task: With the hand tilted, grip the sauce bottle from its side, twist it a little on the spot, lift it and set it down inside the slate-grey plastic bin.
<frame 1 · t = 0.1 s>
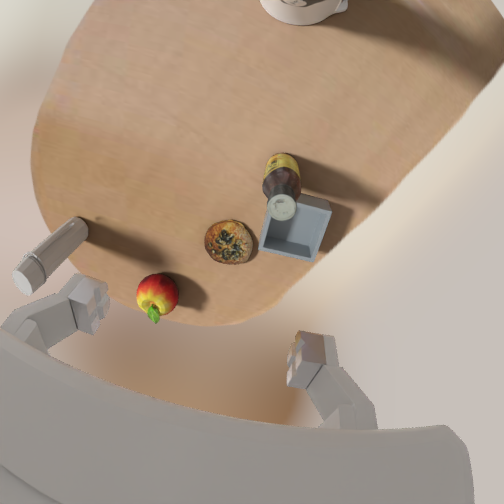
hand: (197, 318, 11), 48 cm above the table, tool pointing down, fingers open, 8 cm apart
fruit: (163, 284, 73), on the table
sauce bottle: (281, 167, 55), on the table
bin: (293, 218, 60), on the table
bread roll: (230, 240, 65), on the table
water bottle: (80, 224, 66), on the table
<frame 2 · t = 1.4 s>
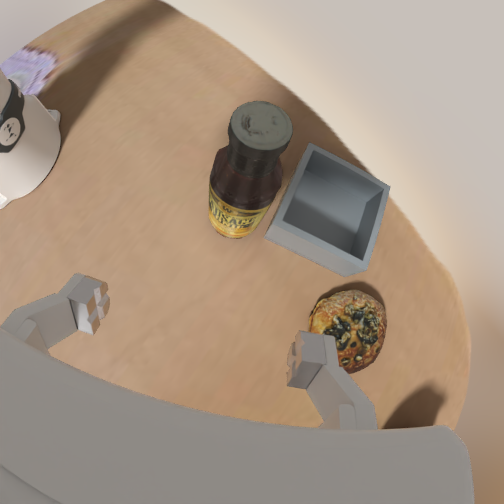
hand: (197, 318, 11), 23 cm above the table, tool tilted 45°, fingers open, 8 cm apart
sauce bottle: (235, 218, 36), on the table
bin: (321, 218, 37), on the table
bread roll: (345, 330, 35), on the table
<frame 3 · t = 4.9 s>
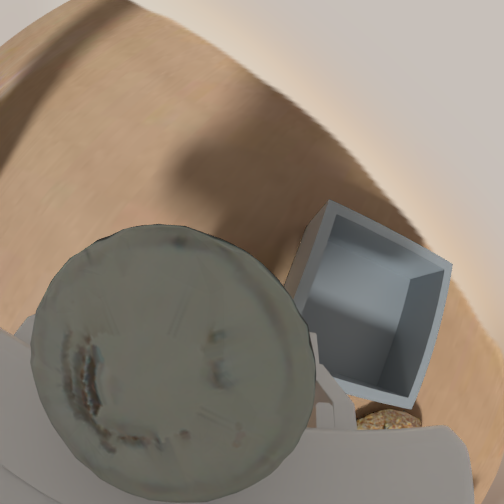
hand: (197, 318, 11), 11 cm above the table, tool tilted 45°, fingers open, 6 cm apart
sauce bottle: (210, 325, 22), on the table, touching gripper
bin: (344, 313, 23), on the table
bread roll: (368, 453, 21), on the table
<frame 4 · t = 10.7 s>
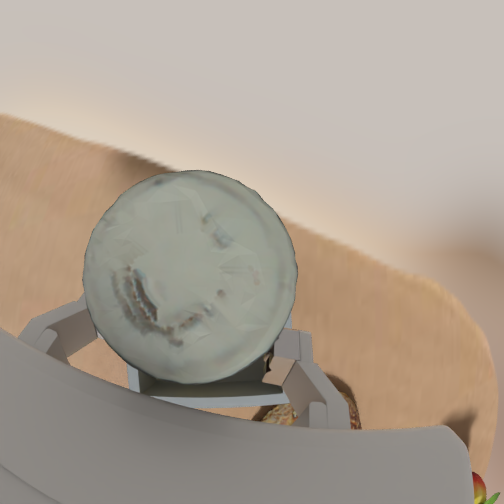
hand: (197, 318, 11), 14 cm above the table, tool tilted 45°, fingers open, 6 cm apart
fruit: (429, 493, 21), on the table
sauce bottle: (206, 315, 24), point 1 cm above the table, touching bin, gripper
bin: (210, 324, 25), on the table
bread roll: (305, 436, 23), on the table
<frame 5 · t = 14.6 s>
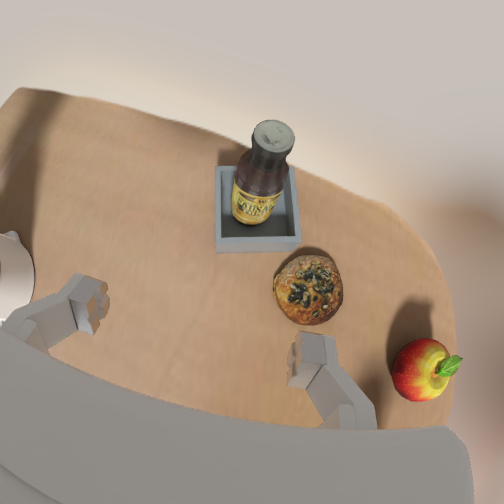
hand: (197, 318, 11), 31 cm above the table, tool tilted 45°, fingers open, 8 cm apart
fruit: (407, 367, 43), on the table
sauce bottle: (251, 210, 45), point 1 cm above the table, touching bin
bin: (253, 216, 46), on the table
bread roll: (307, 289, 44), on the table
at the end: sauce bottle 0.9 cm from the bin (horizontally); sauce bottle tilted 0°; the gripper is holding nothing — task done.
